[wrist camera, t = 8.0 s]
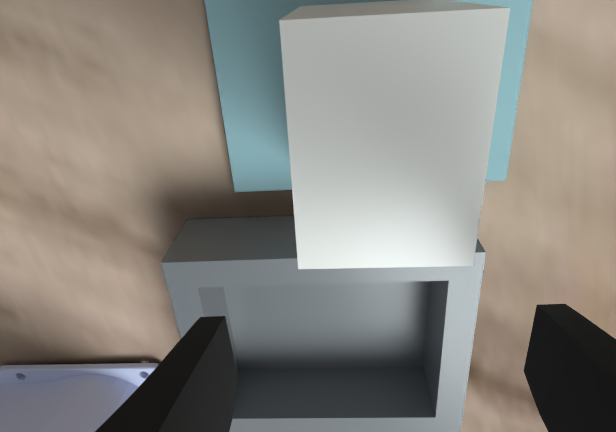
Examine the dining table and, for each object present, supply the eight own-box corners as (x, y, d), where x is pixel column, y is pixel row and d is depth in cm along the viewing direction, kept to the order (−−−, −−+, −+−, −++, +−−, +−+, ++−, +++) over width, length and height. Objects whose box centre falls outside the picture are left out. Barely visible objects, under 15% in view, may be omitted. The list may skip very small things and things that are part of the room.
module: (309, 170, 18) (298, 269, 12) (300, 5, 15) (279, 20, 9) (422, 166, 17) (472, 265, 11) (434, -2, 15) (510, 7, 8)
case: (222, 378, 24) (206, 435, 21) (187, 219, 20) (161, 262, 17) (443, 375, 24) (460, 434, 20) (460, 208, 19) (485, 252, 16)
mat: (237, 186, 19) (234, 192, 18) (204, -26, 15) (200, -27, 15) (500, 174, 18) (505, 180, 18) (533, -53, 14) (541, -54, 14)
